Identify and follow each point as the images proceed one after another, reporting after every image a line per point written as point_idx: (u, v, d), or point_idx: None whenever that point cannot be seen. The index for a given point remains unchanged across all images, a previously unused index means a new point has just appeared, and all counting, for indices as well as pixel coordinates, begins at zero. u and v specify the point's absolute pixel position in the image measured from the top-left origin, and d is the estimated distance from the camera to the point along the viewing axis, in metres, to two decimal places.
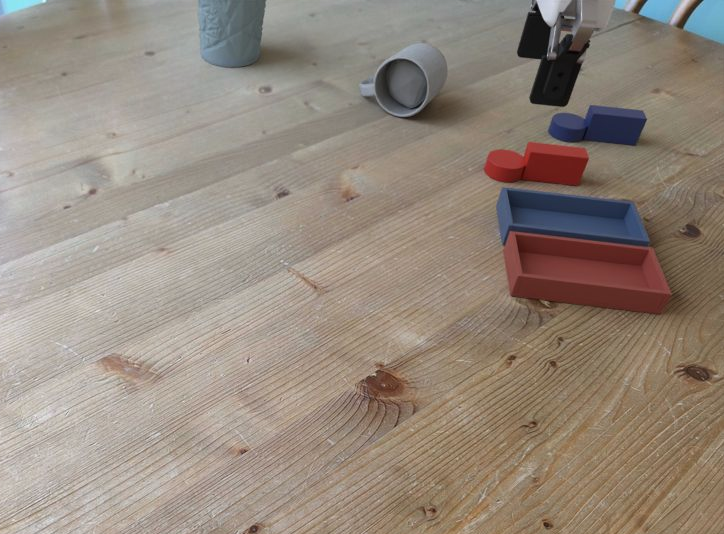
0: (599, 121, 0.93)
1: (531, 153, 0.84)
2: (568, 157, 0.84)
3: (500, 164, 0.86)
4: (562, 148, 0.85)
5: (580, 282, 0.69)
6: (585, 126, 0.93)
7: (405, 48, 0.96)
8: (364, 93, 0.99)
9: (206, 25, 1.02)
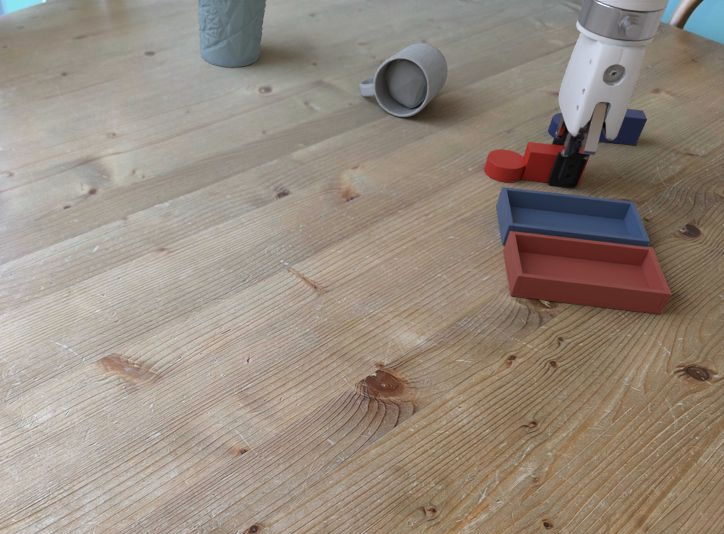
0: None
1: (531, 153, 0.84)
2: None
3: (500, 164, 0.86)
4: (562, 148, 0.85)
5: (580, 282, 0.69)
6: None
7: (405, 48, 0.96)
8: (364, 93, 0.99)
9: (206, 25, 1.02)
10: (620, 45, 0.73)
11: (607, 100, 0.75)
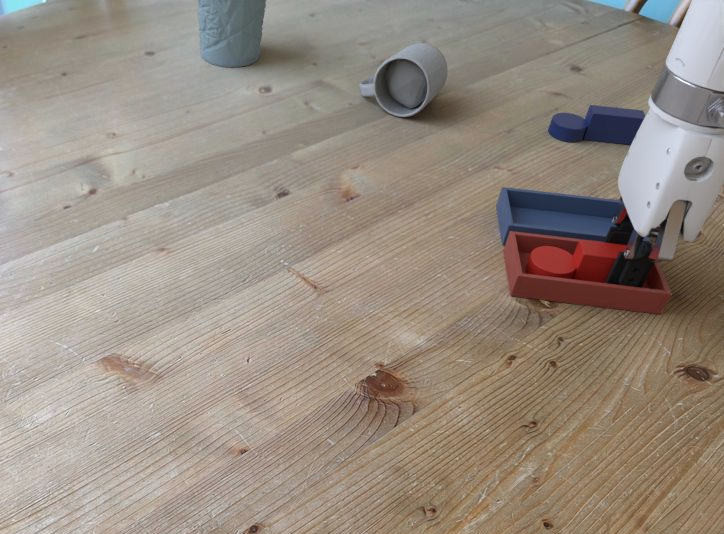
0: (599, 121, 0.93)
1: (584, 256, 0.70)
2: None
3: (547, 267, 0.71)
4: (621, 248, 0.71)
5: (580, 282, 0.69)
6: (585, 126, 0.93)
7: (405, 48, 0.96)
8: (364, 93, 0.99)
9: (206, 25, 1.02)
10: (707, 132, 0.58)
11: (688, 198, 0.61)
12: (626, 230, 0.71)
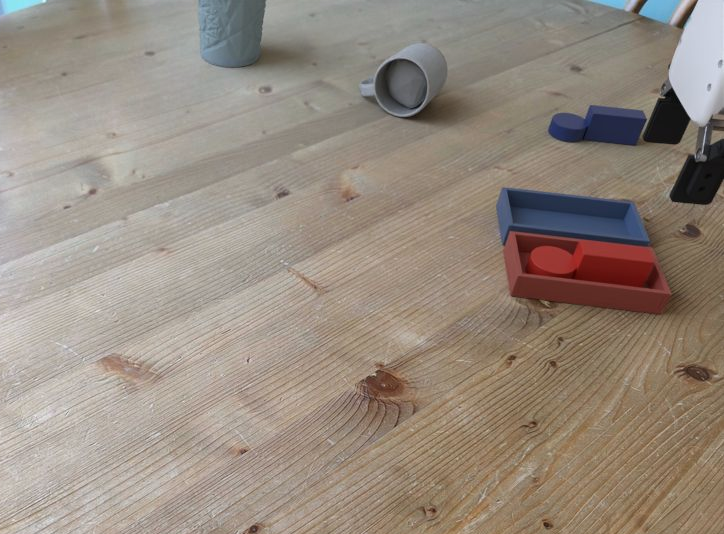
0: (599, 121, 0.93)
1: (584, 256, 0.70)
2: (629, 261, 0.70)
3: (547, 267, 0.71)
4: (621, 248, 0.71)
5: (580, 282, 0.69)
6: (585, 126, 0.93)
7: (405, 48, 0.96)
8: (364, 93, 0.99)
9: (206, 25, 1.02)
10: None
11: None
12: (676, 101, 0.65)
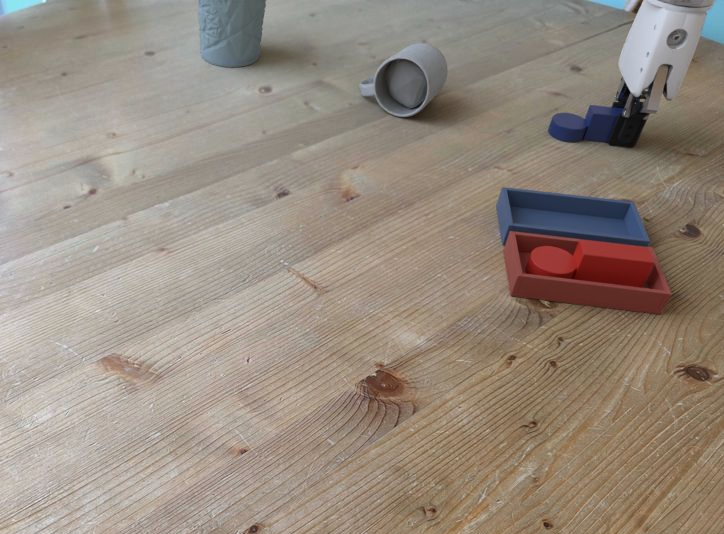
0: (599, 121, 0.93)
1: (584, 256, 0.70)
2: (629, 261, 0.70)
3: (547, 267, 0.71)
4: (621, 248, 0.71)
5: (580, 282, 0.69)
6: (585, 126, 0.93)
7: (405, 48, 0.96)
8: (364, 93, 0.99)
9: (206, 24, 1.02)
10: (683, 11, 0.81)
11: (669, 62, 0.83)
12: (626, 104, 0.93)
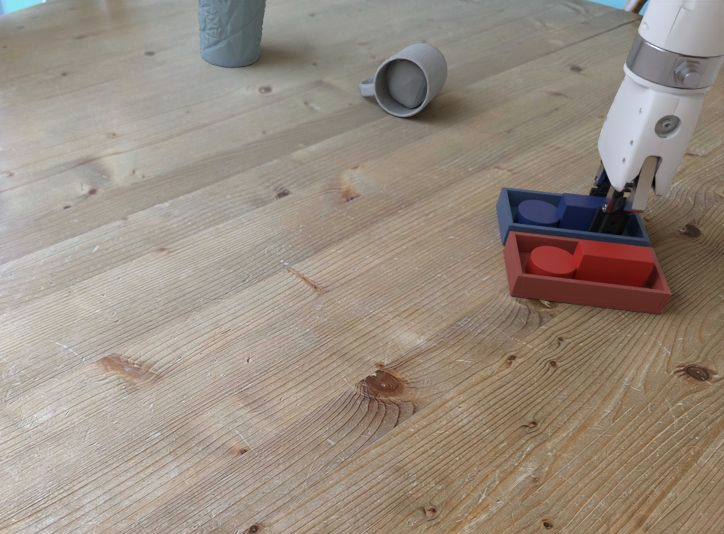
0: (574, 214, 0.76)
1: (584, 256, 0.70)
2: (629, 261, 0.70)
3: (547, 267, 0.71)
4: (621, 248, 0.71)
5: (580, 282, 0.69)
6: (557, 219, 0.77)
7: (405, 48, 0.96)
8: (364, 93, 0.99)
9: (206, 25, 1.02)
10: (675, 93, 0.65)
11: (658, 154, 0.67)
12: (606, 191, 0.77)
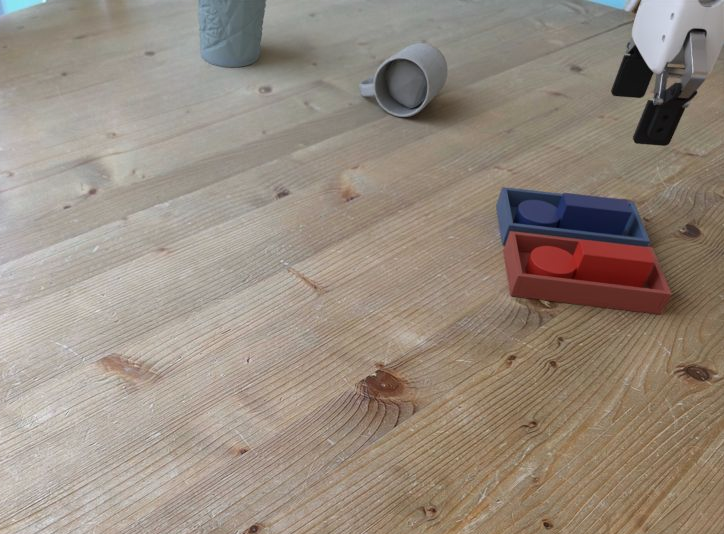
0: (574, 214, 0.76)
1: (584, 256, 0.70)
2: (629, 261, 0.70)
3: (547, 267, 0.71)
4: (621, 248, 0.71)
5: (580, 282, 0.69)
6: (557, 219, 0.77)
7: (405, 48, 0.96)
8: (364, 93, 0.99)
9: (206, 25, 1.02)
10: None
11: (702, 26, 0.62)
12: (639, 58, 0.73)
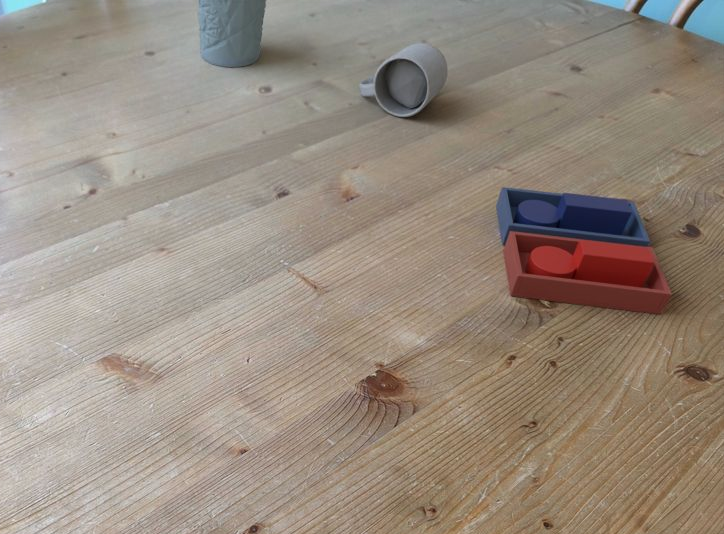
0: (574, 214, 0.76)
1: (584, 256, 0.70)
2: (629, 261, 0.70)
3: (547, 267, 0.71)
4: (621, 248, 0.71)
5: (580, 282, 0.69)
6: (557, 219, 0.77)
7: (405, 48, 0.96)
8: (364, 93, 0.99)
9: (206, 24, 1.02)
10: None
11: None
12: None
